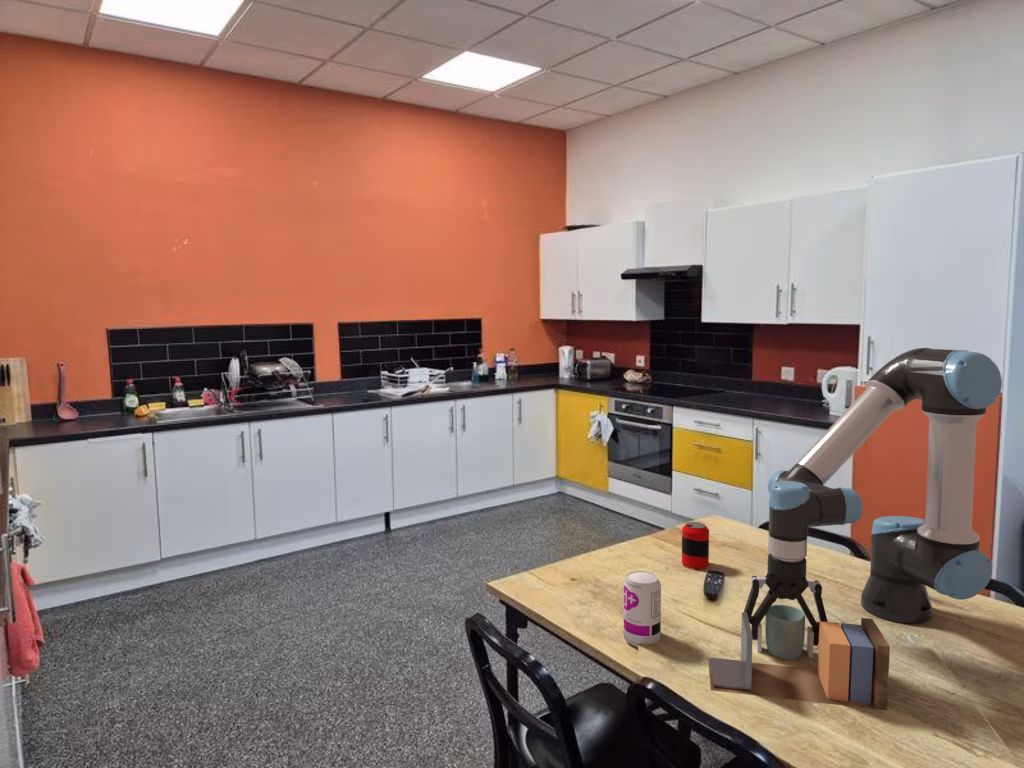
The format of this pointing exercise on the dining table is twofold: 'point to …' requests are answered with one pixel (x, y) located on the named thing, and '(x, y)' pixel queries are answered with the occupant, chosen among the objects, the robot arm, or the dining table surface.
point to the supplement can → (642, 608)
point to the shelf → (808, 683)
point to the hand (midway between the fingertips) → (783, 655)
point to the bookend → (735, 663)
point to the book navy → (859, 663)
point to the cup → (785, 631)
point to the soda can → (695, 545)
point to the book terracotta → (833, 660)
